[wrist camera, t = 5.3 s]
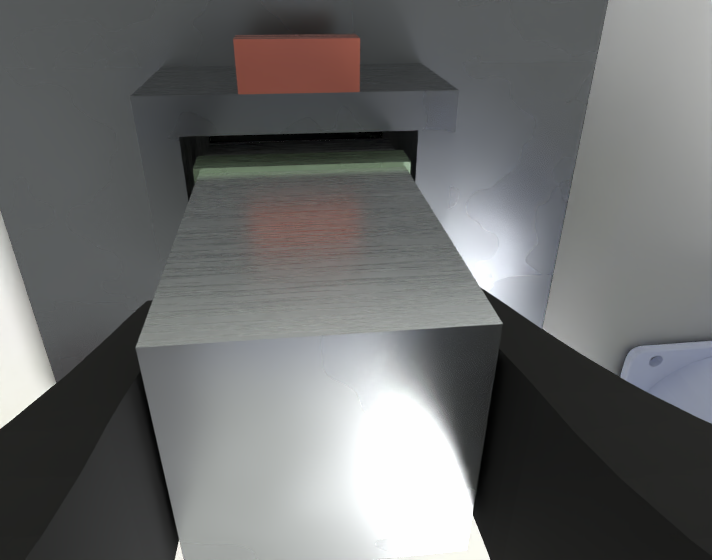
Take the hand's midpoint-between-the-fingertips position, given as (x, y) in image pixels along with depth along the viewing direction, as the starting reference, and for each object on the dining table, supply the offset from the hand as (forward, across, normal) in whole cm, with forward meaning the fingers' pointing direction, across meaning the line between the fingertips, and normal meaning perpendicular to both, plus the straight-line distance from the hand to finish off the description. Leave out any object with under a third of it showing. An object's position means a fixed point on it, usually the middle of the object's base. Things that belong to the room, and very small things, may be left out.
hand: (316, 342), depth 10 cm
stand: (+8, 0, 0) cm, 8 cm away
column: (+5, 0, 0) cm, 5 cm away
